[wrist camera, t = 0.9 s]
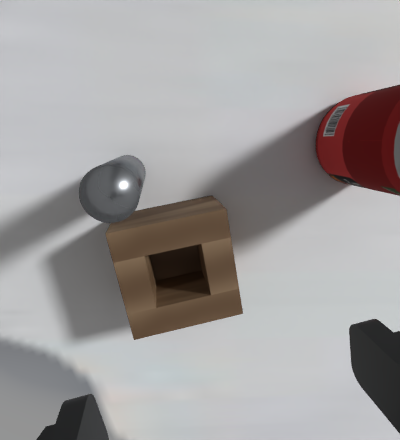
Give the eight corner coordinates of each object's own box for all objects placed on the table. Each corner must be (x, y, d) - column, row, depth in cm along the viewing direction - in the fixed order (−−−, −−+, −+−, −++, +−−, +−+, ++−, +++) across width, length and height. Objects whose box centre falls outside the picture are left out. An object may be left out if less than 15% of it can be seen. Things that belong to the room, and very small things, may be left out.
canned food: (319, 192, 31) (407, 218, 20) (305, 108, 28) (395, 89, 18) (391, 170, 31) (513, 184, 21) (382, 86, 29) (514, 54, 18)
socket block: (115, 215, 28) (105, 233, 22) (212, 195, 29) (226, 208, 23) (137, 302, 31) (133, 339, 25) (226, 282, 31) (242, 313, 26)
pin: (106, 158, 27) (71, 170, 15) (141, 152, 27) (132, 159, 16) (115, 192, 28) (87, 228, 16) (148, 185, 28) (145, 216, 17)
